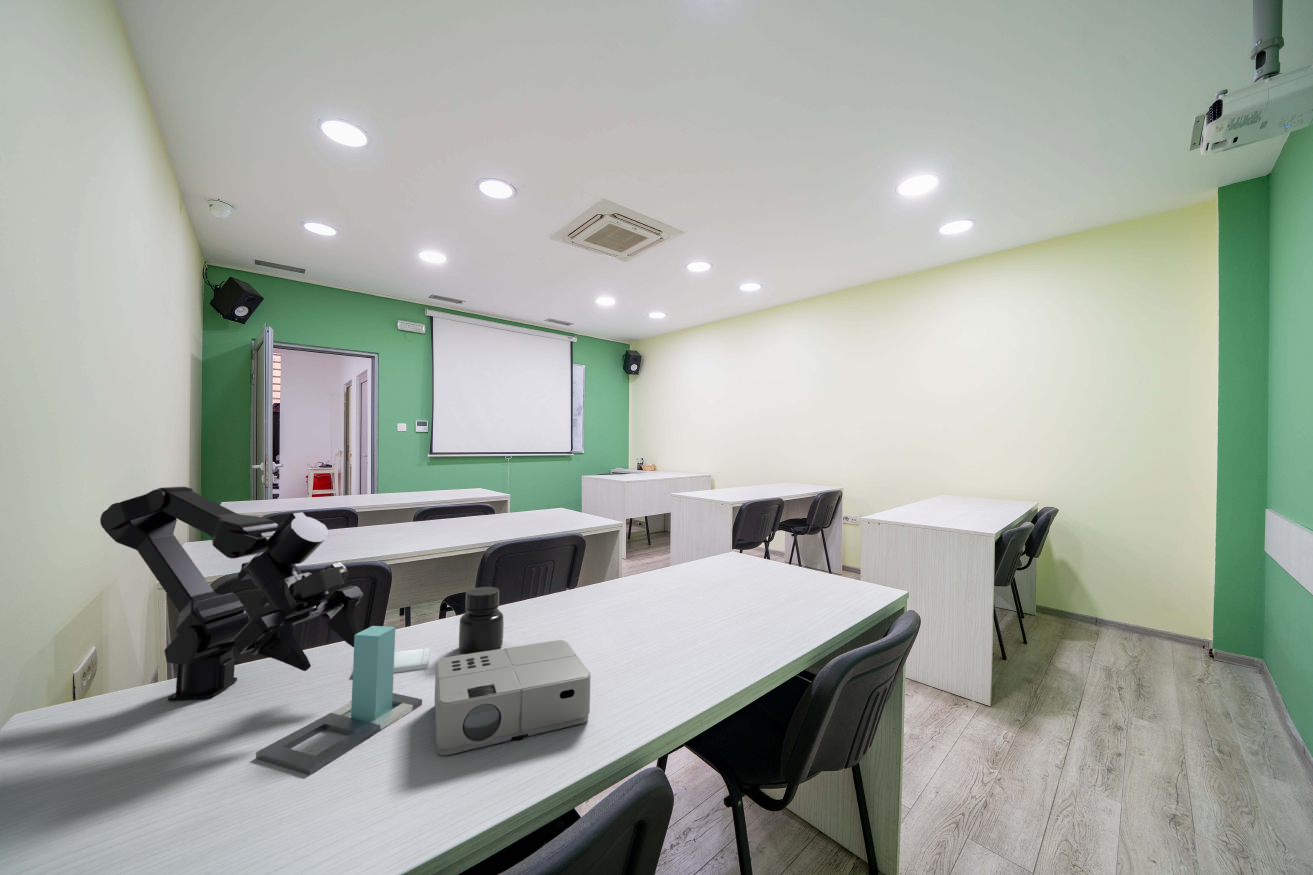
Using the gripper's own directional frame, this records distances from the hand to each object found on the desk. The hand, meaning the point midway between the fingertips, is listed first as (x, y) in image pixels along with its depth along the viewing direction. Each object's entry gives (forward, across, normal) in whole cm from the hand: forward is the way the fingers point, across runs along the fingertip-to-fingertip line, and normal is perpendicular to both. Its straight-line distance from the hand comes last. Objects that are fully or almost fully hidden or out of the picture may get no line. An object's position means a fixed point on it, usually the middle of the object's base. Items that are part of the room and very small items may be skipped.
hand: (333, 656), depth 77 cm
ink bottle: (+13, +28, -1) cm, 30 cm away
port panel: (+11, -4, +1) cm, 12 cm away
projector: (+26, +5, -14) cm, 30 cm away
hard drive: (+5, +16, +8) cm, 19 cm away
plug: (+11, 0, 0) cm, 11 cm away
